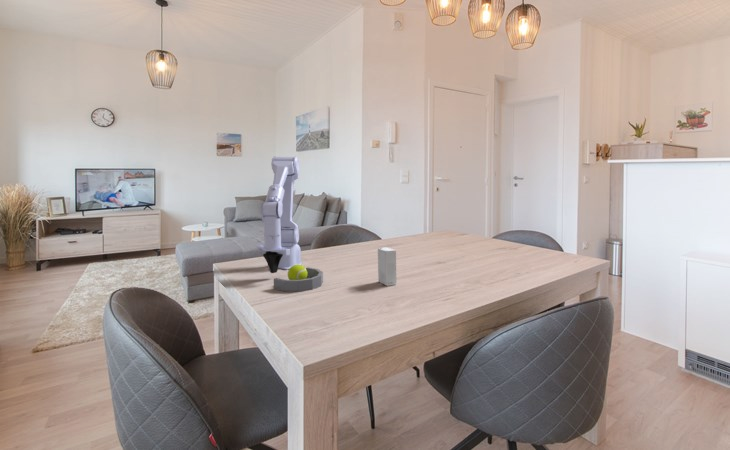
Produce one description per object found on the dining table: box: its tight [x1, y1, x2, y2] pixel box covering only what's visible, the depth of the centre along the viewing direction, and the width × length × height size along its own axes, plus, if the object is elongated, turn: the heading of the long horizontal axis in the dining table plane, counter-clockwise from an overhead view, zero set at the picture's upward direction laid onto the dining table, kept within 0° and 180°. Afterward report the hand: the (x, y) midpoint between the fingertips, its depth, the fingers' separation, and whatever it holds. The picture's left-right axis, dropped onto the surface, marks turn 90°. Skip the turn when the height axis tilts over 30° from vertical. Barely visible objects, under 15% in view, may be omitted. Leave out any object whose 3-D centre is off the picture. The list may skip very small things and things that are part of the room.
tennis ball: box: [287, 264, 308, 280], centre depth 128 cm, size 7×7×7 cm
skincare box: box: [377, 246, 397, 287], centre depth 129 cm, size 6×4×12 cm
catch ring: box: [273, 266, 324, 293], centre depth 127 cm, size 17×11×4 cm, turn 148°
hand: (273, 272), depth 134 cm, fingers closed
